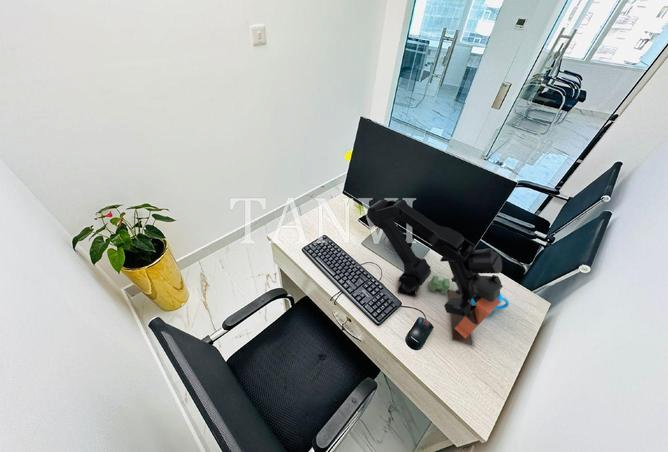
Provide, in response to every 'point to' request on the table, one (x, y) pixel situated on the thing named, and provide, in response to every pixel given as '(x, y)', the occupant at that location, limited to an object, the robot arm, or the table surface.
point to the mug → (498, 304)
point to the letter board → (457, 322)
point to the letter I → (481, 313)
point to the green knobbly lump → (439, 285)
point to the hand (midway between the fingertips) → (480, 319)
